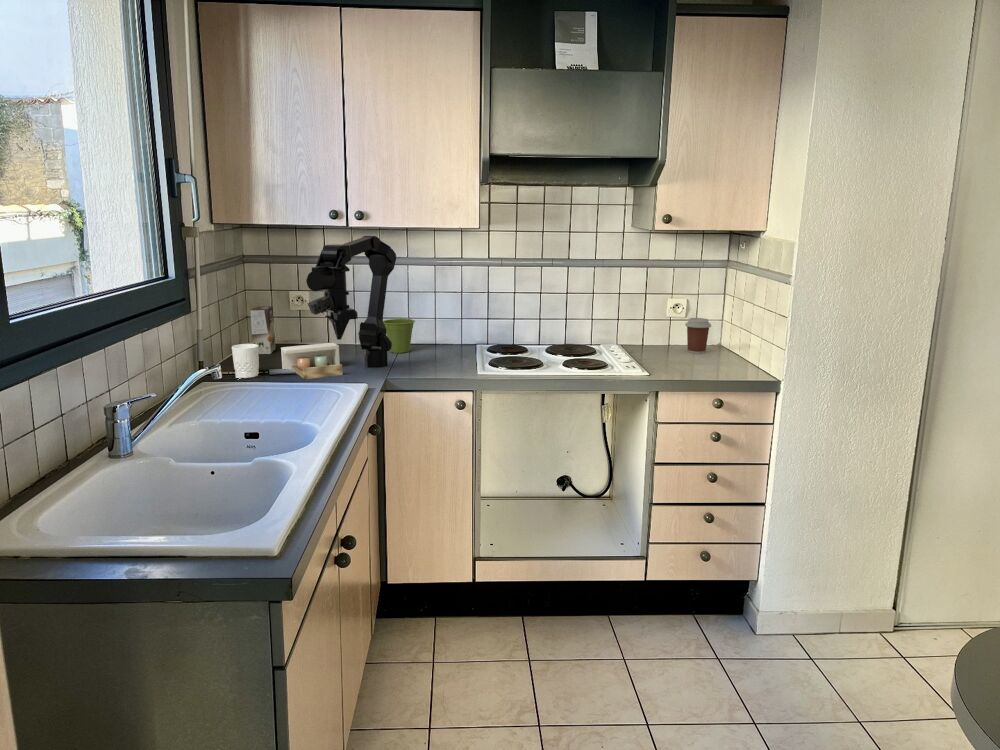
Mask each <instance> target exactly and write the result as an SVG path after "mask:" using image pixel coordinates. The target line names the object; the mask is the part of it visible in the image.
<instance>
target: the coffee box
mask: <svg viewBox="0 0 1000 750" xmlns="http://www.w3.org/2000/svg"><path fill="white" fill-rule="evenodd" d="M249 311H250V326H251V327H250V328H251V340H252V341H251V342H252V344H257V345H258V348H259V355H271V354H272V353H274V351H275V350H276V338H275V323H274V322H275V321H274V307H273V306H272V305H271V306H267V305H266V306H265V305H264V306H263V305H262V306H255V307H253V308H251V309H250V310H249Z"/></svg>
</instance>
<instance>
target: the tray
mask: <svg viewBox="0 0 1000 750" xmlns="http://www.w3.org/2000/svg"><path fill="white" fill-rule="evenodd" d="M292 369H294V370H295V371H296V373H295V374H296V375H298V377H299V376H300V377H301V378H302V379H304V380H310V379H312V380H313V379H319V378H329V377H337V376H343V375H344V372H343V364H342V363H340V364H338V365H332V364H330V363H329V362H327V366H319V367H315V363H314V364H310V368H303V372H302V371H301V370H299V369H298V368H297V365H295V366H291V369H290V370H292Z"/></svg>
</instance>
